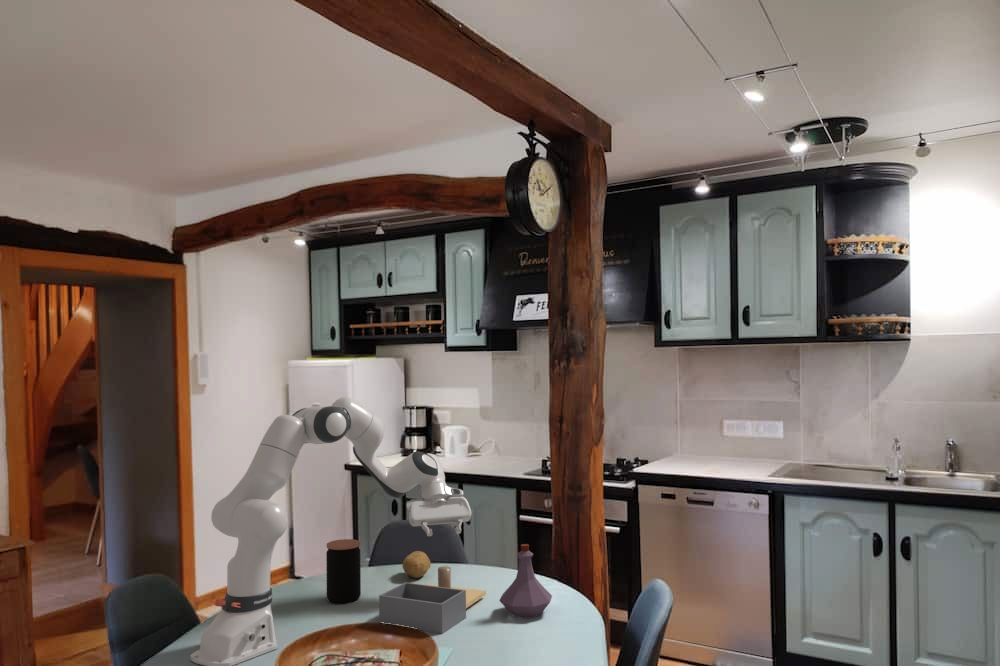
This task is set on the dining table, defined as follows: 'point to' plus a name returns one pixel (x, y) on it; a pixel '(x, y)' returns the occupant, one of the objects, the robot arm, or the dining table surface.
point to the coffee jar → (343, 571)
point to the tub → (423, 607)
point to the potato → (416, 564)
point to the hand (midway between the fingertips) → (444, 533)
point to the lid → (445, 581)
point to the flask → (525, 590)
